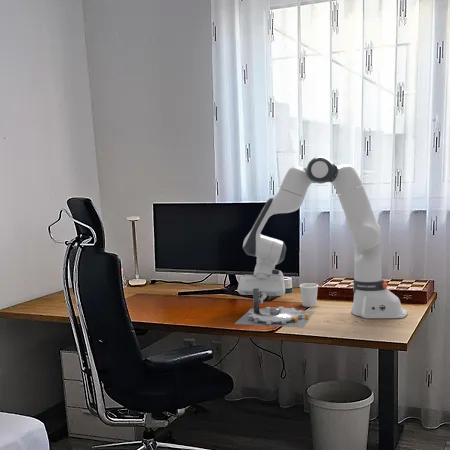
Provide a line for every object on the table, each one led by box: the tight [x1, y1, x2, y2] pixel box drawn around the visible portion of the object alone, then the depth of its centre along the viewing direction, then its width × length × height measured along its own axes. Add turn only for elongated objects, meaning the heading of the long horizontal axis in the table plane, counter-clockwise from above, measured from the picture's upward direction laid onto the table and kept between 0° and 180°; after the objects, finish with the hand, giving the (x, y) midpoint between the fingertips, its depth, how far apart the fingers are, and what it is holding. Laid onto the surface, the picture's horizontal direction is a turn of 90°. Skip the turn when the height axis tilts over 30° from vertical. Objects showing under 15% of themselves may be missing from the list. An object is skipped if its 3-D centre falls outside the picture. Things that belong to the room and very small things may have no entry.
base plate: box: [234, 308, 315, 328], centre depth 240 cm, size 28×25×3 cm
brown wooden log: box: [259, 289, 287, 303], centre depth 280 cm, size 23×5×6 cm, turn 146°
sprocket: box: [248, 288, 303, 324], centre depth 239 cm, size 23×23×12 cm
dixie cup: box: [299, 282, 319, 308], centre depth 258 cm, size 8×8×10 cm
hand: (258, 302), depth 244 cm, fingers closed
